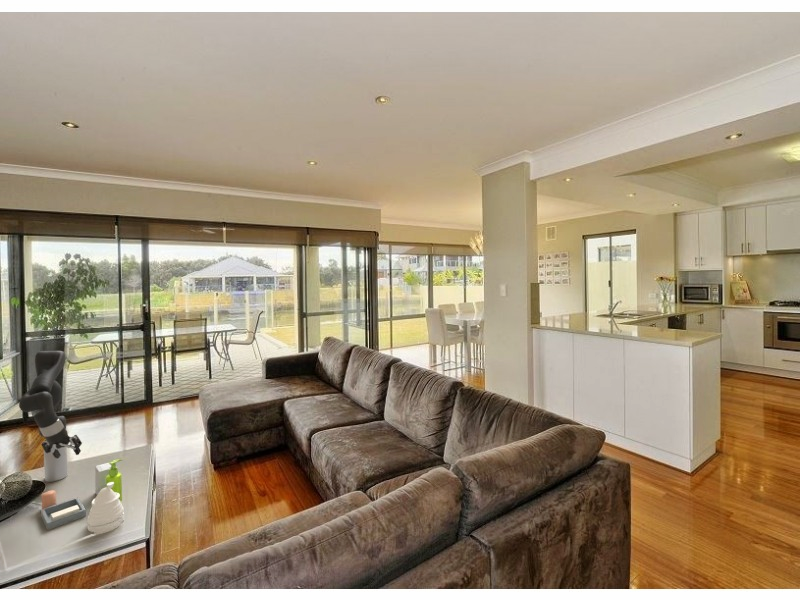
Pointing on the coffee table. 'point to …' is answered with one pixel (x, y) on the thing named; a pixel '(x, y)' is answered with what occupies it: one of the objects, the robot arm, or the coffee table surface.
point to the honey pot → (105, 511)
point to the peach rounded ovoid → (48, 499)
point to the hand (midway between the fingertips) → (68, 455)
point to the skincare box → (101, 476)
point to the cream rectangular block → (64, 512)
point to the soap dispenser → (115, 478)
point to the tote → (65, 519)
